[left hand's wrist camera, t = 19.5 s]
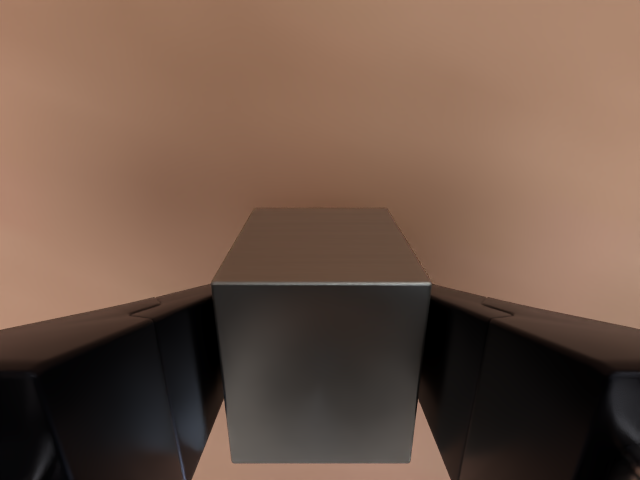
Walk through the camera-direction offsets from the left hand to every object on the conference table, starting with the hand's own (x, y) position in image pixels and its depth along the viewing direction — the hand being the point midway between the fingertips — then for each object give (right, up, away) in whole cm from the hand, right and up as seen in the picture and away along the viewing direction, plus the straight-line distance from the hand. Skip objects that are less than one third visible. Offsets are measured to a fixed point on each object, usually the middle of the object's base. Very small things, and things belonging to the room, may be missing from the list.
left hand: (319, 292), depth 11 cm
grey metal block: (0, 0, +1) cm, 1 cm away
